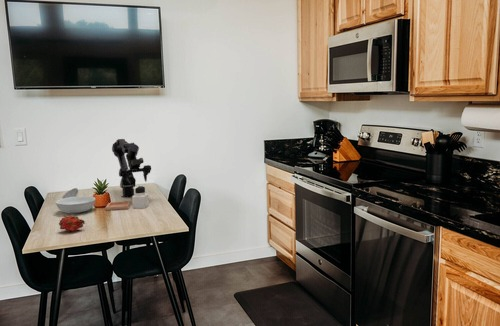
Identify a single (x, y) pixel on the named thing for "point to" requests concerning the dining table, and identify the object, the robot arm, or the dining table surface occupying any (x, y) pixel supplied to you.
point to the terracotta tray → (118, 205)
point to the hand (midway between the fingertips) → (138, 182)
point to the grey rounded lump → (71, 193)
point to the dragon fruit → (71, 223)
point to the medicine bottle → (140, 198)
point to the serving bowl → (75, 204)
